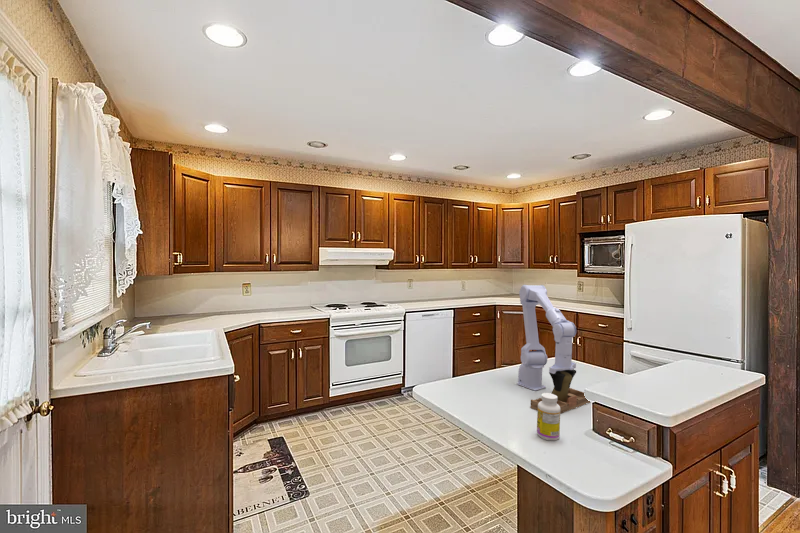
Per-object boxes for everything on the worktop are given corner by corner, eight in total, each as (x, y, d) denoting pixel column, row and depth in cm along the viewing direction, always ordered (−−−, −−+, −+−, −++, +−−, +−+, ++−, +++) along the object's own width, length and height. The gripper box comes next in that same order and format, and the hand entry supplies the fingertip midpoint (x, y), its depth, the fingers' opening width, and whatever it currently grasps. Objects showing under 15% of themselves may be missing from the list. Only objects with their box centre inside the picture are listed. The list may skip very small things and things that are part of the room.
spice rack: (530, 407, 136) (530, 395, 136) (568, 394, 150) (569, 383, 150) (552, 416, 129) (552, 404, 129) (590, 402, 143) (591, 390, 143)
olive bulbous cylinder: (568, 405, 137) (576, 378, 135) (552, 401, 138) (559, 374, 136) (564, 396, 143) (571, 371, 141) (548, 393, 144) (555, 367, 141)
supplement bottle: (538, 429, 119) (540, 390, 119) (560, 434, 116) (562, 394, 116) (534, 437, 113) (536, 396, 113) (557, 443, 110) (559, 401, 110)
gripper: (562, 359, 132) (560, 396, 132) (584, 353, 140) (582, 389, 140) (544, 354, 137) (543, 390, 138) (566, 349, 146) (565, 383, 146)
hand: (562, 389), depth 139 cm, fingers closed on olive bulbous cylinder, 5 cm apart
